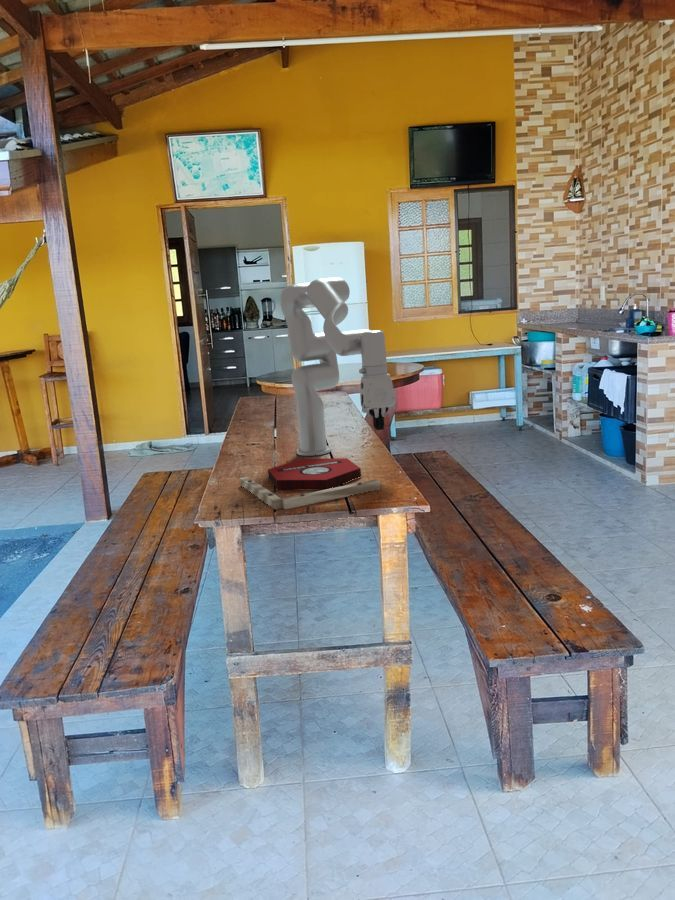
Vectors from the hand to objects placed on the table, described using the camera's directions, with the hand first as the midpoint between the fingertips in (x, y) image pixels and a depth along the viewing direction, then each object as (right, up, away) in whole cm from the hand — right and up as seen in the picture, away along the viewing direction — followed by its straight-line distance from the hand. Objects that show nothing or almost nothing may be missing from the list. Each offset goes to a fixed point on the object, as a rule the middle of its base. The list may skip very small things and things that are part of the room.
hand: (379, 429), depth 230 cm
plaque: (-20, -16, +2) cm, 26 cm away
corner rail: (-22, -18, -9) cm, 30 cm away
